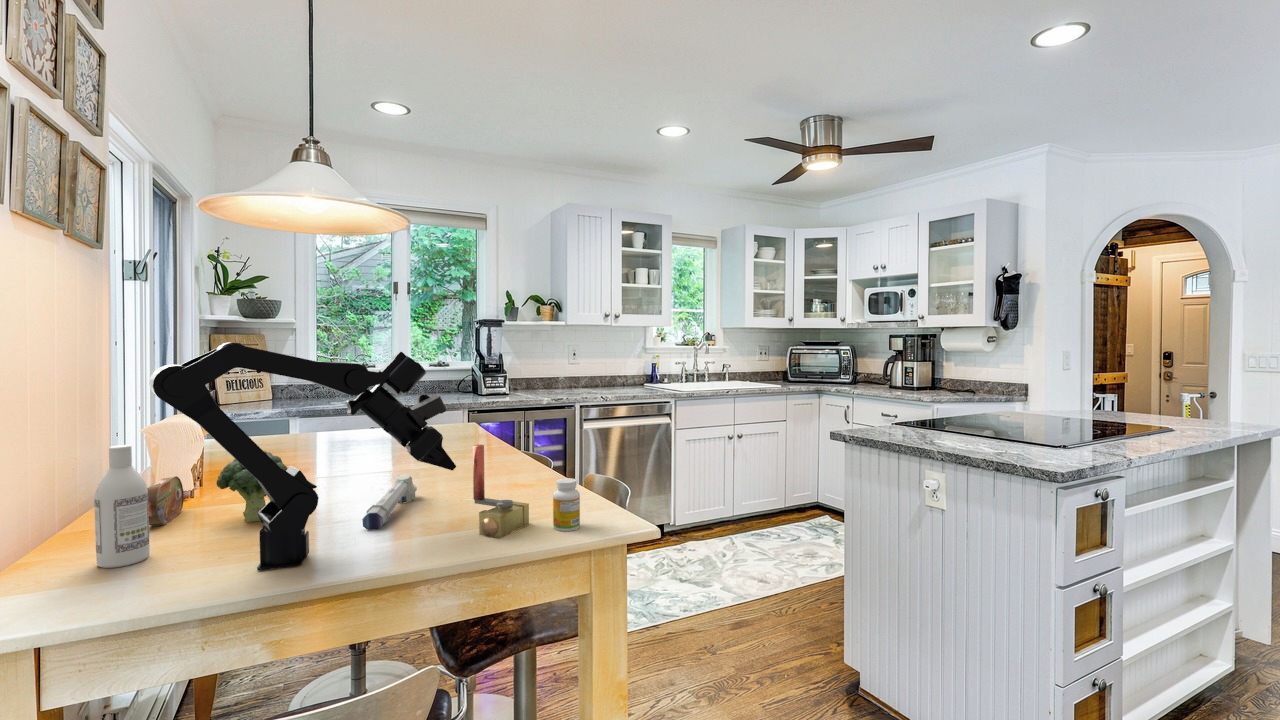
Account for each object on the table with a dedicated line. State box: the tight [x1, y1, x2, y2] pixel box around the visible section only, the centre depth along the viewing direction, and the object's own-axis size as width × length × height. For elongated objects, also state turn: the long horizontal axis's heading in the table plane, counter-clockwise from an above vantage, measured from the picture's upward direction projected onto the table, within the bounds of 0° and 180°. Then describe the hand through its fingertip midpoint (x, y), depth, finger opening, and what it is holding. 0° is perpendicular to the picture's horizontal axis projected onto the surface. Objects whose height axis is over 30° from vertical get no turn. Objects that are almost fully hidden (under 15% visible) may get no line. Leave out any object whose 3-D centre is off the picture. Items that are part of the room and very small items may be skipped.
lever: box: [472, 444, 513, 509], centre depth 120 cm, size 9×3×12 cm, turn 65°
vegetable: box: [216, 450, 289, 523], centre depth 125 cm, size 12×13×15 cm
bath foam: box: [93, 444, 151, 569], centre depth 102 cm, size 7×7×20 cm
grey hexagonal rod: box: [361, 473, 418, 530], centre depth 132 cm, size 5×7×25 cm
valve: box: [478, 500, 530, 539], centre depth 119 cm, size 10×5×4 cm, turn 155°
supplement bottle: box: [552, 477, 581, 532], centre depth 121 cm, size 5×5×10 cm
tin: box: [147, 476, 185, 527], centre depth 126 cm, size 15×3×8 cm, turn 22°
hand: (449, 464), depth 119 cm, fingers open, 9 cm apart
